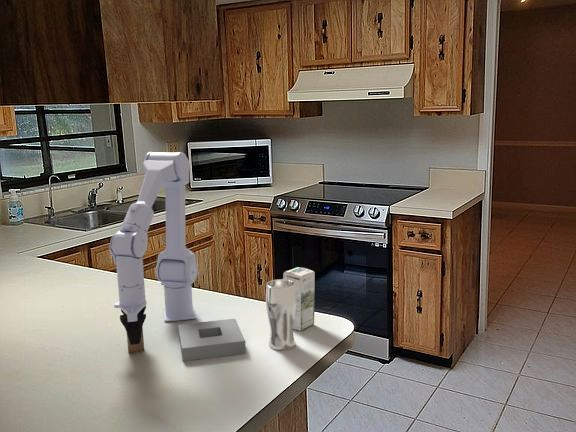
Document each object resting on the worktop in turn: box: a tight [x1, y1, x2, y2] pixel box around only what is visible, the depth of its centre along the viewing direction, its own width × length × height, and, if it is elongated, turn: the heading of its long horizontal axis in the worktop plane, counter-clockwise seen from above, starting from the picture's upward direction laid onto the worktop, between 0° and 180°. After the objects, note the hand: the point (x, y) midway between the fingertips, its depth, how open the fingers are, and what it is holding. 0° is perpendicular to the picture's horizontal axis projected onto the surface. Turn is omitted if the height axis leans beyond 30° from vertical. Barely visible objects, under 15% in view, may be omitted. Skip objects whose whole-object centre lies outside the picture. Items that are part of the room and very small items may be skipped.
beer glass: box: [265, 278, 296, 351], centre depth 126 cm, size 7×7×15 cm
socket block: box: [177, 318, 246, 362], centre depth 128 cm, size 14×14×3 cm
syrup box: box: [282, 266, 316, 332], centre depth 137 cm, size 6×6×14 cm
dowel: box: [126, 314, 145, 354], centre depth 126 cm, size 4×4×8 cm
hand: (135, 340), depth 126 cm, fingers closed on dowel, 4 cm apart
